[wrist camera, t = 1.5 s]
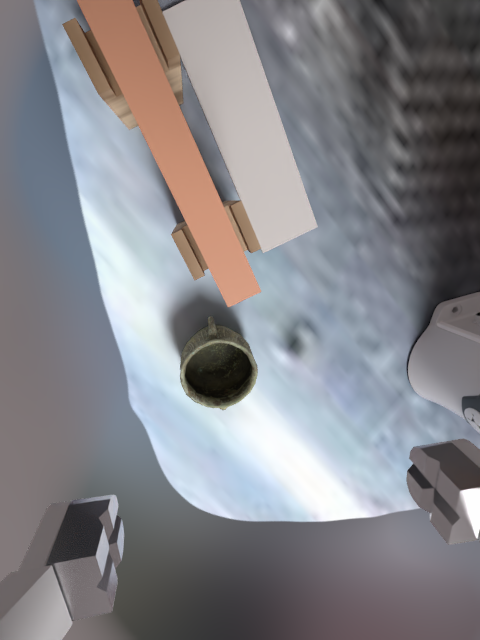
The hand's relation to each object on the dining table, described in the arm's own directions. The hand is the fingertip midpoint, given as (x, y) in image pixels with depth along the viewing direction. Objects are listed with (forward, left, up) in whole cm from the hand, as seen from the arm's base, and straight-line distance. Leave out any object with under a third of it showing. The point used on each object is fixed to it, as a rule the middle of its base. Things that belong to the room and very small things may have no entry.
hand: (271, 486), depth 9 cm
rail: (-2, -11, -22) cm, 25 cm away
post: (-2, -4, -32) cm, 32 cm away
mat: (-10, -11, -32) cm, 35 cm away
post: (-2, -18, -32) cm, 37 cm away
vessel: (+4, +10, -32) cm, 34 cm away
